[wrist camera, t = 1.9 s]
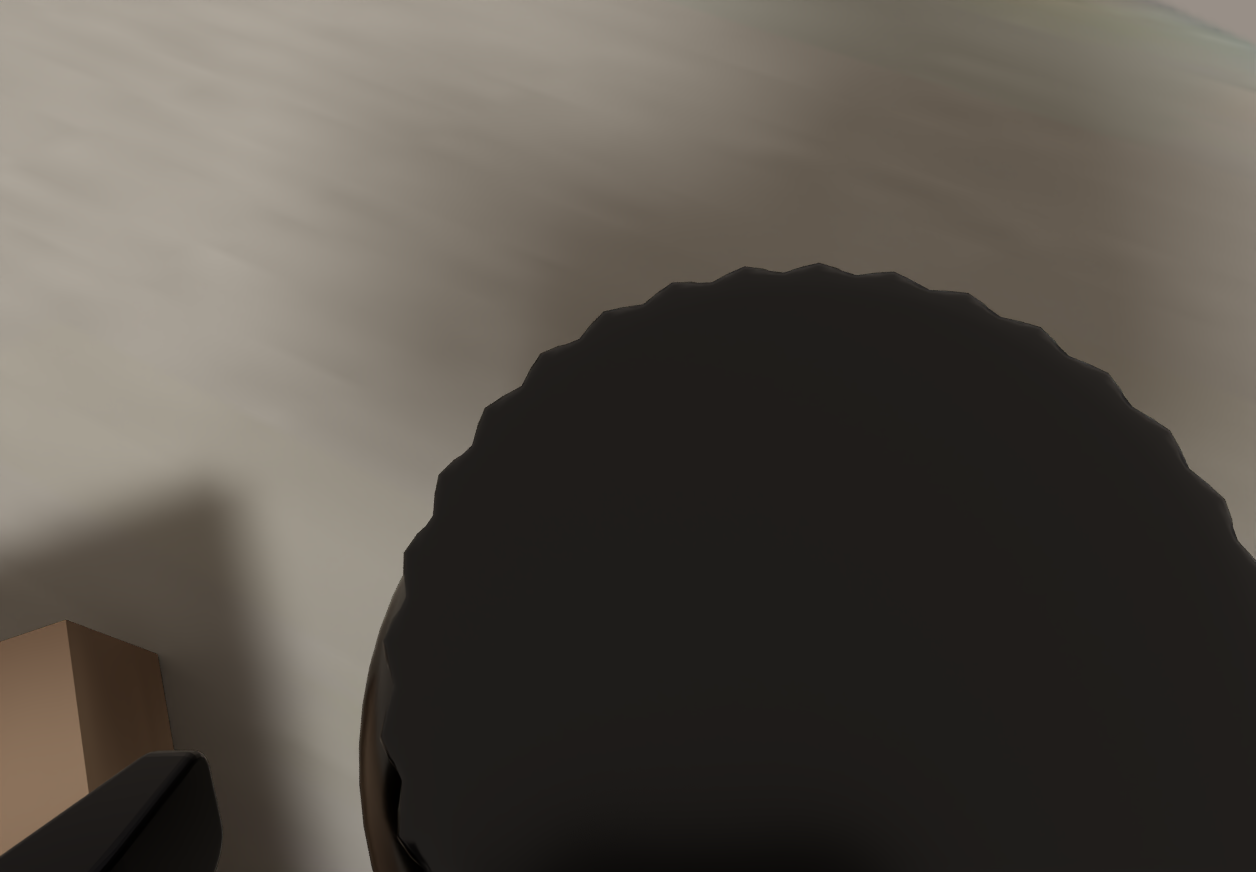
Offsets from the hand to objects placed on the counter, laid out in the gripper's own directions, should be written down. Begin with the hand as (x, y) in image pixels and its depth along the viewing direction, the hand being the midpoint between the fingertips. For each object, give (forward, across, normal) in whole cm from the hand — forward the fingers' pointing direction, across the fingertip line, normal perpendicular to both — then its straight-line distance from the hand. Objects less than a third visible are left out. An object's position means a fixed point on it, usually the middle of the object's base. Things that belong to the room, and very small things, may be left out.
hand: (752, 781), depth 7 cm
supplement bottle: (+7, 0, +6) cm, 9 cm away
